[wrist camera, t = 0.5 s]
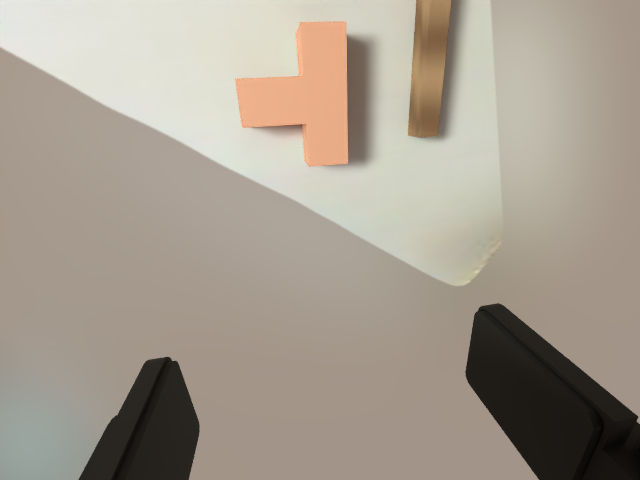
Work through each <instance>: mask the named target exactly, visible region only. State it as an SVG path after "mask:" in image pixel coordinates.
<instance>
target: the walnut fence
mask: <svg viewBox="0 0 640 480" xmlns="http://www.w3.org/2000/svg"><path fill="white" fill-rule="evenodd" d="M450 10H451V0H417V1H416V17H415V32H414V48H413V63H412V79H411V94H410V110H409V125H408V135H409V136H415V137H431V136H438V127H439V117H440V108H441V98H442V88H443V78H444V69H445V59H446V49H447V39H448V30H449V20H450Z"/></svg>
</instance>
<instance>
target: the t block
mask: <svg viewBox="0 0 640 480" xmlns="http://www.w3.org/2000/svg"><path fill="white" fill-rule="evenodd" d="M296 42H297V56H298V71H299V76H293V77H268V78H242V79H235V82H236V89H237V96H238V102H239V109H240V116H241V123H242V128H246V127H263V126H280V125H296V124H302V129H303V143H304V158H305V162H306V163H307V164H308V166H309V167H310V166H323V165H336V164H348V121H347V38H346V21H345V22H300V24H299V27H298V29H297V32H296Z"/></svg>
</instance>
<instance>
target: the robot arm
mask: <svg viewBox="0 0 640 480" xmlns="http://www.w3.org/2000/svg"><path fill="white" fill-rule="evenodd" d="M466 377H467V380H468V383H469V384H470V386H471V387H472V388H473V390H474V391H475V393H476V394H477V395H478V397H479V398H480V400H481V401H482V402H483V404H484V405H485V406H486V408H487V409H488V410H489V412H490V413H491V415H492V416H493V417H494V419H495V420H496V421H497V423H498V424H499V425H500V427H501V428H502V430H503V431H504V432H505V434H506V435H507V436H508V438H509V439H510V440H511V442H512V443H513V445H514V446H515V447H516V448H517V450H518V451H519V453H520V454H521V455H522V457H523V458H524V459H525V461H526V462H527V464H528V465H529V466H530V468H531V469H532V471H533V472H534V473H535V475H536V476H537V477H538V479H539V480H640V424H639V423H637V422H636V421H637V419H638V416H637V415H636V414H634V413H633V412H632V411H631V410H629V409H628V408H627V407H626V406H625V405H623V404H622V403H621V402H620V401H618V400H617V399H616V398H615V397H614V396H612V395H611V394H610V393H609V392H608V391H606V390H605V389H604V388H603V387H601V386H600V385H599V384H598V383H597V382H595V381H594V380H593V379H592V378H591V377H589V376H588V375H587V374H586V373H584V372H583V371H582V370H581V369H580V368H578V367H577V366H576V365H575V364H574V363H572V362H571V361H570V360H569V359H568V358H566V357H565V356H564V355H563V354H561V353H560V352H559V351H557V349H555V348H554V347H553V346H552V345H551V344H549V343H548V342H547V341H546V340H544V339H543V338H542V337H541V336H539V335H538V334H537V333H536V332H535V331H534V330H532V329H531V328H530V327H529V326H528V325H526V324H525V323H524V322H523V321H521V320H520V319H519V318H518V317H517V316H515V315H514V314H513V313H512V312H510V311H509V310H508V309H507V308H506V307H504V306H503V305H501V304H492V305H486V306H481V307H480V308H479V310H478V312H476V313H475V315H474V322H473V328H472V334H471V341H470V347H469V354H468V361H467V366H466ZM198 437H199V421H198V418H197V415H196V413H195V410H194V407H193V404H192V401H191V398H190V395H189V392H188V390H187V387H186V384H185V381H184V378H183V376H182V373H181V370H180V367H179V364H178V362H177V361H172V360H171V358H170V357H164V358H157V359H151V360H148V361H146V362H145V363H144V365H143V367H142V369H141V371H140V373H139V375H138V377H137V379H136V381H135V383H134V384H133V386H132V388H131V390H130V392H129V394H128V396H127V398H126V400H125V402H124V404H123V406H122V407H121V409H120V411H119V413H118V415H117V416H115V417H114V418H113V419H112V420H111V421H110V423H109V424H108V426H107V428H106V429H105V431H104V433H103V435H102V437H101V439H100V441H99V442H98V444H97V446H96V448H95V450H94V452H93V454H92V456H91V458H90V459H89V461H88V463H87V465H86V467H85V469H84V471H83V473H82V474H81V476H80V478H79V480H189V475H190V472H191V467H192V463H193V459H194V454H195V450H196V445H197V441H198Z"/></svg>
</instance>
